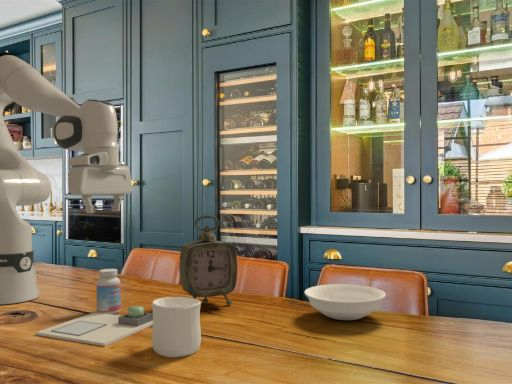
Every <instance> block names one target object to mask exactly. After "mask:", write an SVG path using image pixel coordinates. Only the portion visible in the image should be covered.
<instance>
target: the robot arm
mask: <svg viewBox="0 0 512 384" xmlns="http://www.w3.org/2000/svg"><path fill="white" fill-rule="evenodd" d="M18 106H20V107H22V108H23V109H27V110H29V111H33V112H37V113H42V114H46V115H50V116H55V117H56V118H59V119H57V121H56V122H55V123H54V127H53V138H54V140H55V142H56V144H57V145H58V147H60V148H61V149H64V150H67V151H74V152H75V151H76V152H82V153H81V154H79V155H76V156H72V157H70V158H68V161H67V162H68V167H70V168H69V170H68V172H67V173H68V177H67V181H68V182H67V184H68V192H69V194H70V195H71V196H72V197H74V196H81V201H82V203H83V205H84V207H85V213H86V214H95V213H96V206H95V205H93V203H92V201H91V200H93V196H109V195H110V196H111V195H112V196H113V197H112V198H113V199H114V201H113V204H111V205H110V206H111V212H120V211H121V205H122V202H123V199H124V197H123V195H131V193H132V191H133V183H132V176H131V172H130V169H129V166H128V165H127V164H126V163H125V162H124V161H120V160H119V158H120V155H119V152H120V151H119V146H118V142H117V141H118V140H117V139H118V134H119V133H118V132H119V131H118V130H119V128H118V117H117V113H116V109H115V106H114V105H113V104H112V103H111V102H109V101H105V100H99V99H91V98H90V99H87V100H84V101H83V103H82V104H79V103H78V102H76V101H75V99H72V98H71V97H70V96H68V95H67V94H65V93H64V91H61V89H59V88H58V87H57V86H55V85H54V84H53V83H52V82H51V81H49V80H48V78H46V77H45V76H44V75H42V74H41V72H39V71H38V70H37V69H35V68H34V67H33V66H32V65H30V64H29V63H28V62H26V61H24V60H23V59H21V58H19V57H18V56H15V55H11V54H10V55H9V54H6V55H5V54H4V55H2V56H0V305H10V304H17V303H18V304H19V303H24V302H27V301H33V300H34V299H37V298H38V297H39V296H40V295H39V294H41V289H39V288H38V281H37V273H36V272H37V271H36V267H34V265H33V263H34V262H35V254H34V252H35V251H34V250H33V235H32V234H33V232H32V230H33V227H32V226H31V224H30V223H29V222H28V221H27V220H24V219H23V218H21V217H20V215H19V213H18V211H17V207H20V206H21V207H22V206H23V207H24V206H33V205H37V204H41V203H43V202H45V201H47V200H48V199H49V197H50V195H51V193H52V183H51V181H50V178H49V177H48V176H47V175H46V174H44V173H43V172H41V171H39V170H38V169H36V168H35V167H34V166H33V165H31V163H30V162H28V160H26V158H25V157H24V156H23V155H22V154H21V153H20V151H19V150H18V148H17V146H16V144H15V141H14V140H13V138H12V136H11V133H10V131H9V129H8V126H7V124H6V122H5V120H4V117H3V116H4V115H3V114H4V113H3V112H5V113H9V112H12V111H14V109H15V108H17V107H18Z"/></svg>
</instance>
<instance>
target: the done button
mask: <svg viewBox="0 0 512 384" xmlns="http://www.w3.org/2000/svg"><path fill="white" fill-rule="evenodd" d="M144 308H145V307H144V306H142V305H134V306H133V305H132V306H130V307H128V309H127V310H128V312H127V314H128V317H130V318H140V317H142V316H144V312H145V309H144Z"/></svg>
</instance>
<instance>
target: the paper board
mask: <svg viewBox="0 0 512 384" xmlns="http://www.w3.org/2000/svg"><path fill="white" fill-rule="evenodd" d="M120 316H121V315H120V314H119V315H117V314H104V313H97V311H95V312H90V313H88V314H85V315H83V316H82V315H81V316H80V317H79V316H78V317H77V318H74V319H71V320H68V321H64V322H62V323H59V324H56V325H53V326H51V327H46V328H44V329H41V330H39V331H35V336H38V337H39V336H41V337H47V338H52V339H59V340H64V341H70V342H76V343H84V344H88V345H95V346H101V347H107V346H109V345H111V344H113V343H115V342H117V341H120V340H122V339H124V338H126V337H128V336H131V335H133V334H135V333H137V332H140V331H142V330H145V329H147V328H149V327H151V326H153V320H152V321H150V322H147V323H145V324H143V325H141V326H131V325H123V324H118V317H120Z"/></svg>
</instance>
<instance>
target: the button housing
mask: <svg viewBox="0 0 512 384" xmlns="http://www.w3.org/2000/svg"><path fill="white" fill-rule="evenodd" d="M152 320H153V312H146V311H144V316H142V317H140V318H130V317H128V313H125V314H123V315H120V317H118V324H123V325H131V326H141V325H143V324H145V323H147V322H150V321H152Z"/></svg>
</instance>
